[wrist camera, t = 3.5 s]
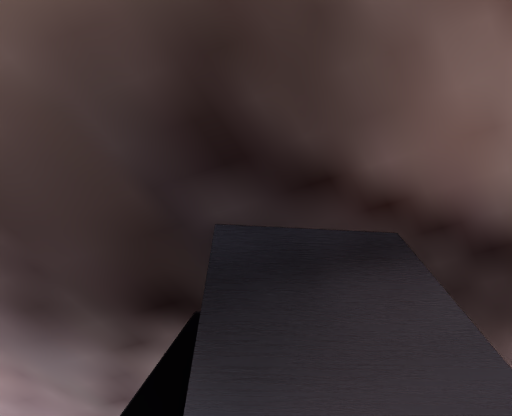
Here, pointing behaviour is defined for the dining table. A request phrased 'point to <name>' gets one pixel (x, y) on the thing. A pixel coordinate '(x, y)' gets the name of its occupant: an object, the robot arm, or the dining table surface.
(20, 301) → the dining table surface
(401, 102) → the dining table surface
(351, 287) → the metal block
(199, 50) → the dining table surface
